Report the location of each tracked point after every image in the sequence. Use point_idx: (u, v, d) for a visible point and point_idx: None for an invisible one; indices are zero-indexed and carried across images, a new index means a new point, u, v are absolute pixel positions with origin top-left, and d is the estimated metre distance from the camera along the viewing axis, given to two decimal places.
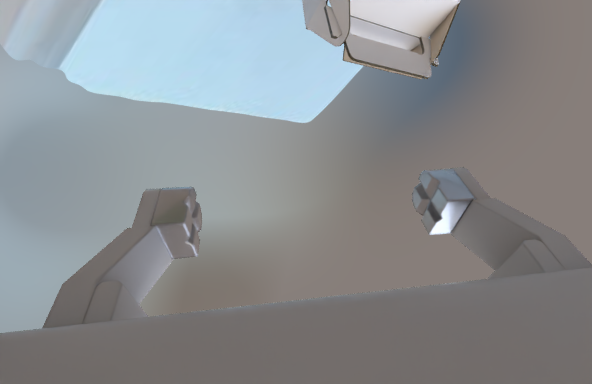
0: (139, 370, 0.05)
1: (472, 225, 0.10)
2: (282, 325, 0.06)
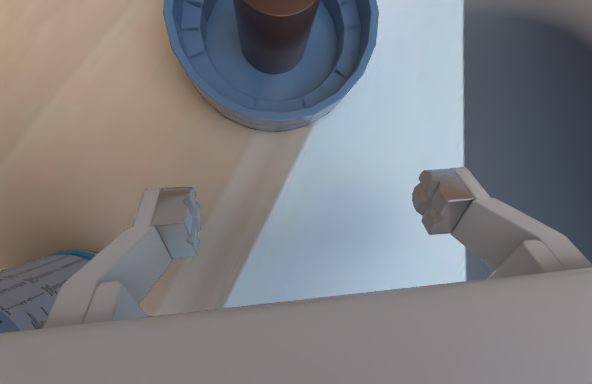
0: (139, 370, 0.05)
1: (472, 225, 0.10)
2: (282, 325, 0.06)
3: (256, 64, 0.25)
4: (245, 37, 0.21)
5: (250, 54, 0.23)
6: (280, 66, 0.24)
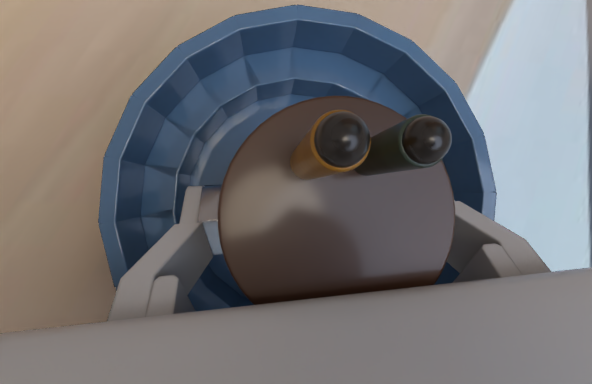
0: (139, 370, 0.05)
1: None
2: (282, 325, 0.06)
3: None
4: None
5: None
6: None
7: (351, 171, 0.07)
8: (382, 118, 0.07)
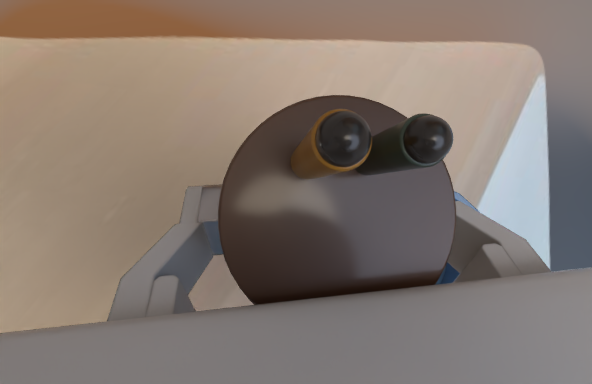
0: (139, 370, 0.05)
1: None
2: (282, 325, 0.06)
3: None
4: None
5: None
6: None
7: (352, 171, 0.07)
8: (383, 118, 0.07)
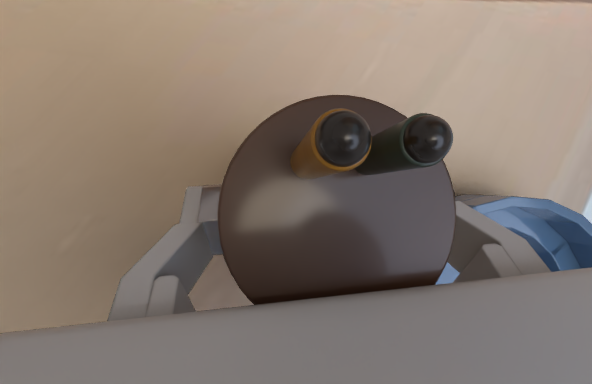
0: (139, 370, 0.05)
1: None
2: (282, 325, 0.06)
3: None
4: None
5: None
6: None
7: (351, 171, 0.07)
8: (383, 117, 0.07)
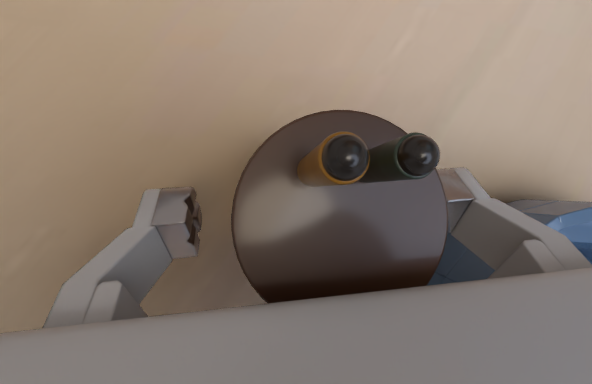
0: (139, 370, 0.05)
1: (472, 225, 0.10)
2: (282, 325, 0.06)
3: None
4: None
5: None
6: None
7: None
8: (381, 130, 0.08)
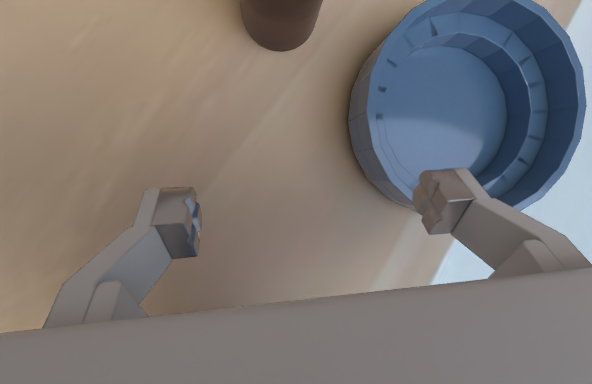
0: (139, 370, 0.05)
1: (472, 225, 0.10)
2: (282, 325, 0.06)
3: (260, 39, 0.22)
4: (247, 5, 0.18)
5: (253, 26, 0.20)
6: (287, 41, 0.21)
7: None
8: None
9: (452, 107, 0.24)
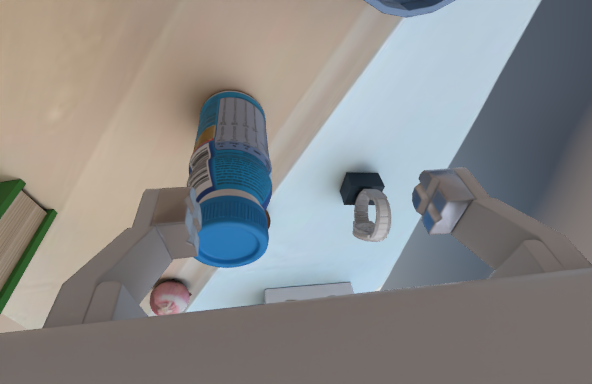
0: (139, 370, 0.05)
1: (472, 225, 0.10)
2: (282, 325, 0.06)
3: None
4: None
5: None
6: None
7: None
8: None
9: None
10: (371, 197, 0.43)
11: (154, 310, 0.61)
